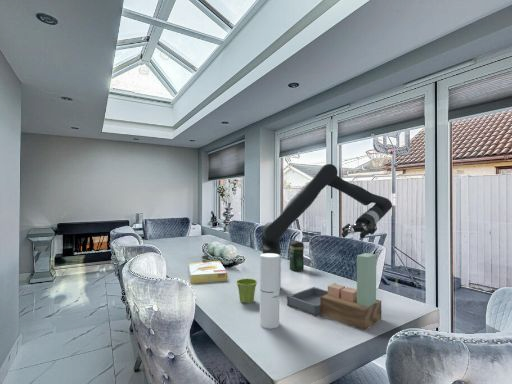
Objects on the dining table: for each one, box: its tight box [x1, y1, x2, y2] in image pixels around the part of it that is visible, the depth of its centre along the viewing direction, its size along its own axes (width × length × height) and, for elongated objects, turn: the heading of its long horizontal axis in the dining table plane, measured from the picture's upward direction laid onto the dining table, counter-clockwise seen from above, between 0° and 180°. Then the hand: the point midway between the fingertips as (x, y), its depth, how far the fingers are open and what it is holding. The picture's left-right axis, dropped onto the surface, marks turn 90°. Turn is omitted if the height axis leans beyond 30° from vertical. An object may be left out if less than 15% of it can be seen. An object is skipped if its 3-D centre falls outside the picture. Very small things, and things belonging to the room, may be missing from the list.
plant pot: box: [235, 278, 258, 304], centre depth 125 cm, size 9×9×9 cm
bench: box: [319, 294, 382, 332], centre depth 109 cm, size 14×18×7 cm
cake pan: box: [200, 254, 223, 265], centre depth 198 cm, size 25×25×4 cm
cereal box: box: [187, 261, 228, 284], centre depth 166 cm, size 20×6×28 cm
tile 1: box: [327, 283, 346, 298], centre depth 113 cm, size 5×5×4 cm
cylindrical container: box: [259, 253, 281, 329], centre depth 102 cm, size 7×7×25 cm
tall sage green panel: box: [356, 252, 377, 308], centre depth 104 cm, size 7×4×18 cm, turn 133°
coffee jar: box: [289, 240, 305, 272], centre depth 180 cm, size 10×8×19 cm
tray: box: [286, 286, 328, 317], centre depth 121 cm, size 19×15×4 cm
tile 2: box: [341, 286, 357, 302], centre depth 109 cm, size 5×5×4 cm
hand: (351, 236), depth 120 cm, fingers open, 8 cm apart
